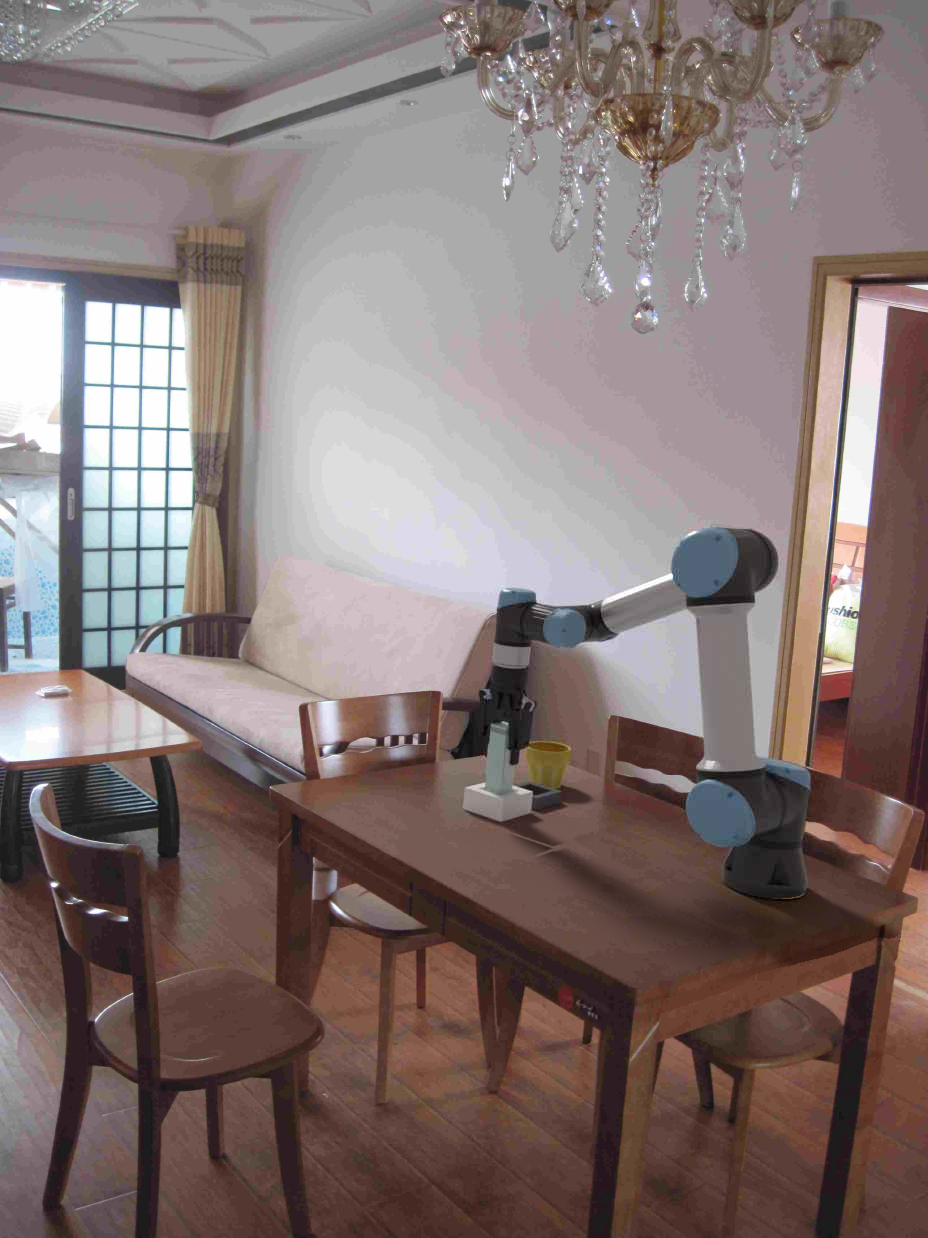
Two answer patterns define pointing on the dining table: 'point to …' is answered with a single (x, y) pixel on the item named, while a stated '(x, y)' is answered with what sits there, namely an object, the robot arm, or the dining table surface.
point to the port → (497, 802)
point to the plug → (498, 759)
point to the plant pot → (547, 762)
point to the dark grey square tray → (541, 795)
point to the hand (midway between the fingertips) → (499, 776)
